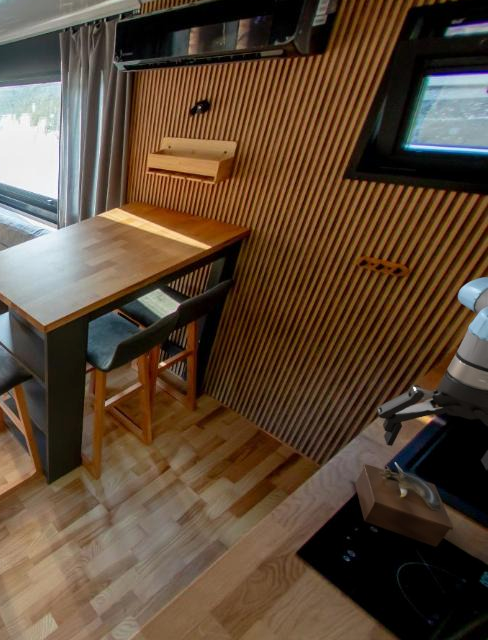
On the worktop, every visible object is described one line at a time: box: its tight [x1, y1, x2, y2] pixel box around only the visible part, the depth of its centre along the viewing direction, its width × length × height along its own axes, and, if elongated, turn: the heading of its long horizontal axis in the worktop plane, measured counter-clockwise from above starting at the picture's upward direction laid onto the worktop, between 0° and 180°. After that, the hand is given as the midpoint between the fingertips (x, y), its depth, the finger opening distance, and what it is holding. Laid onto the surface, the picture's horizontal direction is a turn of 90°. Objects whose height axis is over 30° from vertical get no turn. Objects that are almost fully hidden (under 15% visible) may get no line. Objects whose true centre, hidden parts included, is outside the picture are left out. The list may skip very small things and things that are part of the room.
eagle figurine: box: [380, 461, 441, 511], centre depth 83 cm, size 8×7×9 cm
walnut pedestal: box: [355, 463, 454, 548], centre depth 86 cm, size 11×11×8 cm
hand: (434, 453), depth 79 cm, fingers open, 13 cm apart
